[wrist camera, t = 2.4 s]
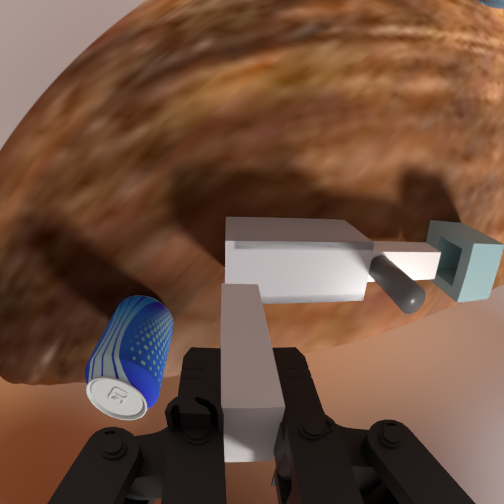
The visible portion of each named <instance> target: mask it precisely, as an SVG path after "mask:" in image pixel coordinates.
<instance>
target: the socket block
mask: <svg viewBox="0 0 504 504" xmlns="http://www.w3.org/2000/svg"><path fill="white" fill-rule="evenodd" d="M426 243H427V244H429V245H431V246H432V247H434V248H435V249H437V250H438V251H440V252H441V255H440V259H439V263H438V267H437V271H436V275H435V279H430V280H431V281H432V282H433V283H435V284H436V285H437V286H438V287H439V288H441V289H442V290H443V291H444V292H445V293H446V294H448V295H449V296H450V297H451V298H452V299H453V300H454V301H456V302H457V303H459V302H467V301H474V300H481V299H487V298H488V297H489V295H490V292H491V289H492V286H493V283H494V280H495V276H496V273H497V270H498V266H499V263H500V259H501V256H502V252H503V248H504V244H502V243H500V242H498V241H496V240H495V239H493V238H491V237H489V236H487V235H485V234H483V233H481V232H479V231H477V230H475V229H473V228H471V227H469V226H467V225H465V224H463V223H458V222H447V221H436V220H430V223H429V229H428V234H427V239H426Z"/></svg>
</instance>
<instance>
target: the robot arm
mask: <svg viewBox="0 0 504 504" xmlns="http://www.w3.org/2000/svg"><path fill="white" fill-rule="evenodd" d="M477 1H478V2H480V3H482V4H484V5H486V6H489V7H492V8H499V9H504V0H477ZM165 415H166V419H167V425H168V427H166V428H165V429H163V430H161V431H159V432H156V433H152V434H147V435H140V436H133V434H132V433H130V432H128V431H126V430H125V429H123V428H118V427H107V428H103V429H101V430H99V431H96V432H95V433H94V434H93V435H92V436H91V437H90V438H89V440H88V441H87V443H86V444H85V446H84V447H83V449H82V451H81V452H80V454H79V455H78V457H77V458H76V460H75V461H74V463H73V464H72V466H71V467H70V469H69V471H68V472H67V474H66V475H65V477H64V478H63V480H62V482H61V483H60V485H59V486H58V488H57V489H56V491H55V493H54V494H53V496H52V497H51V499H50V501H49V502H48V504H154V502H155V499H157V498H162V501H161V504H226V482H225V462H256V461H272V459H273V455H274V456H275V462H276V468H275V471H274V475H273V478H272V483H271V486H275V485H276V491H277V497H278V504H475V503H474V502H473V500H472V499H471V498H470V497H469V496H468V495H467V494H466V493H465V491H464V490H463V489H462V488H461V487H460V486H459V485H458V484H457V482H456V481H455V480H454V479H453V478H452V477H451V476H450V475H449V473H448V472H447V471H446V470H445V469H444V468H443V467H442V466H441V465H440V463H439V462H438V461H437V460H436V459H435V458H434V457H433V455H432V454H431V453H430V452H429V451H428V450H427V449H426V448H425V446H424V445H423V444H422V443H421V442H420V441H419V440H418V439H417V437H416V436H415V435H414V434H413V433H412V432H411V431H410V430H409V429H408V428H407V427H406V426H405V425H403V424H402V423H400V422H397V421H395V420H382V421H378V422H376V423H375V424H373V425H372V426H371V428H370V429H369V430H363V429H352V428H346V427H342V426H339V425H337V424H335V422H334V421H333V420H332V419H331V418H330V417H328V416H327V415H325V413H324V411H323V409H322V406H321V403H320V400H319V397H318V394H317V391H316V388H315V385H314V382H313V380H312V378H311V373H310V371H309V369H308V365H307V362H306V359H305V356H304V355H303V354H302V353H301V352H300V351H299V350H298V349H297V348H296V347H287V348H272V345H271V340H270V336H269V331H268V327H267V322H266V318H265V313H264V309H263V304H262V300H261V295H260V291H259V286H258V284H224V283H222V293H221V348H195V347H191V348H190V349H189V351H188V352H187V353H186V354H185V356H184V357H183V364H182V370H181V377H180V384H179V391H178V397H176V398H174V399H173V400H172V401H171V402H170V403H169V404H168V405H167V408H166V410H165Z"/></svg>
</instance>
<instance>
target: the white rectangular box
mask: <svg viewBox="0 0 504 504" xmlns="http://www.w3.org/2000/svg"><path fill="white" fill-rule="evenodd" d="M373 247H374V243H373V242H372V241H371V240H370V239H368V238H367V237H366V236H365V235H363V234H362V233H361V232H359V231H358V230H357V229H356V228H354V227H353V226H352V225H350V224H349V223H348V222H346V221H345V220H336V219H309V218H274V217H226V234H225V284H258V286H259V291H260V295H261V300H262V303H311V302H338V301H360V300H363V298H364V293H365V289H366V284H367V279H368V274H369V269H370V264H371V258H372V253H373Z"/></svg>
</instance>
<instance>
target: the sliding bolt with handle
mask: <svg viewBox="0 0 504 504" xmlns="http://www.w3.org/2000/svg"><path fill="white" fill-rule="evenodd" d="M372 242H373V243H374V247H373V253H372V258H371V264H370V269H369V274H368V279H367V282H376V283H377V284H378V285H379V286H380V287H381V288H382V289H383V290H384V291H385V292H386V293H387V295H388V296H389V297H390V298H391V299H392V300H393V301H394V302H395V303H396V305H397V306H398V307H399V308H400V309H401V310H402V311H403V312H404V313H406V314H410V313H413V312H415V311H417V310H418V309H419V308H420V307H421V306H422V304H423V302H424V300H425V291H424V290H423V289H422V288H421V287H420V286H419V285H418V284H417V283H416V282H415V281H413V280H425V279H435V275H436V271H437V267H438V263H439V259H440V255H441V252H440V251H438V250H437V249H435V248H434V247H432V246H431V245H429V244H427V243H425V242H390V241H372Z"/></svg>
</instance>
